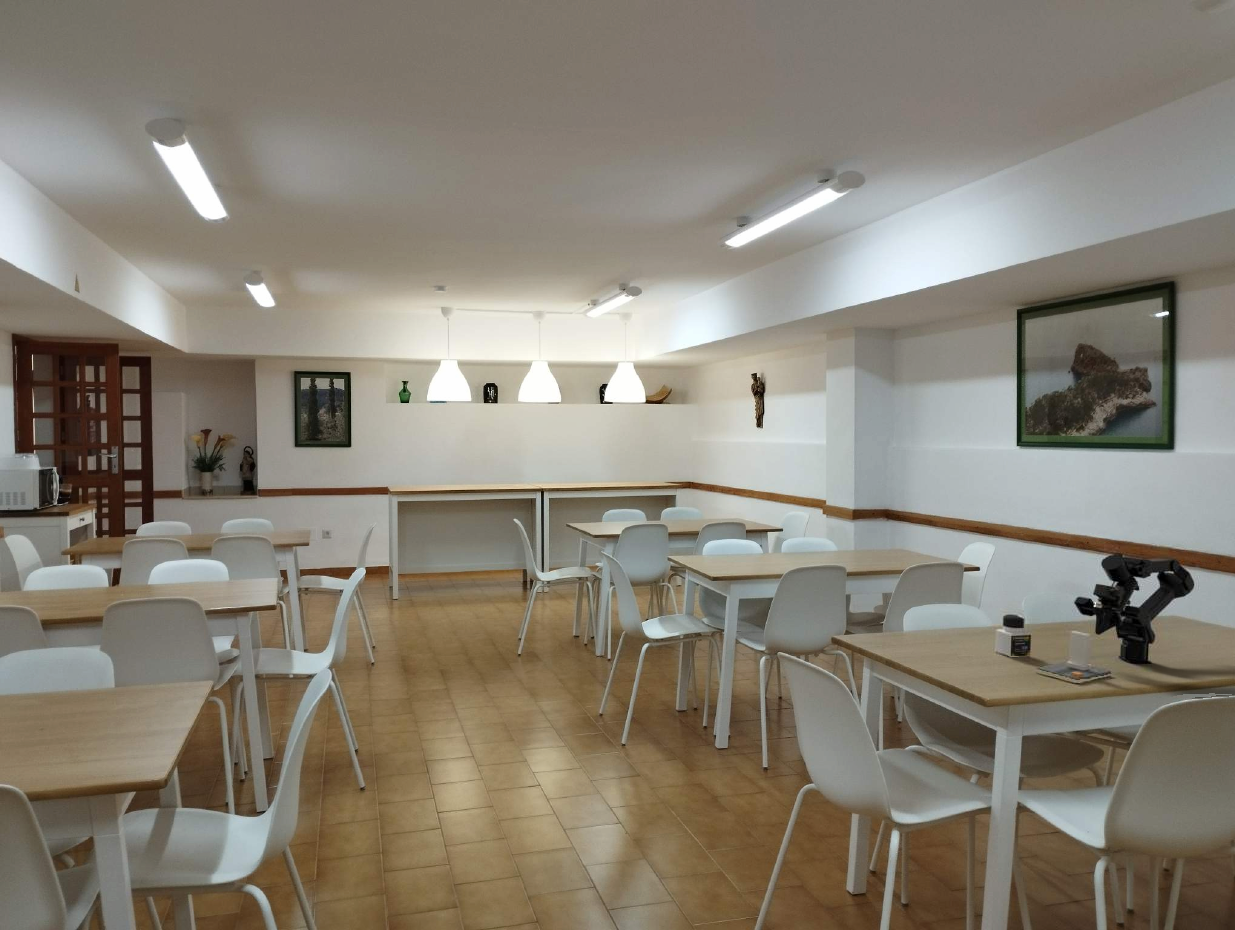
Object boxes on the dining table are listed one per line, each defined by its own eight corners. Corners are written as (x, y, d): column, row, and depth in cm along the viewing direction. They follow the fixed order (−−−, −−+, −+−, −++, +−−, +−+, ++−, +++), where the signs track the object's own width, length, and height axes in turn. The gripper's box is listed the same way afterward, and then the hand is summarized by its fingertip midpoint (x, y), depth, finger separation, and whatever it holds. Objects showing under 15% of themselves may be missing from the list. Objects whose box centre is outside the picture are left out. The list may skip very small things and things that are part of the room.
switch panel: (1069, 665, 259) (1070, 658, 259) (1110, 676, 249) (1111, 668, 249) (1036, 673, 251) (1036, 665, 250) (1077, 684, 240) (1077, 675, 240)
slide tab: (1074, 664, 254) (1075, 630, 254) (1091, 668, 250) (1093, 634, 249) (1065, 666, 252) (1067, 632, 252) (1083, 670, 248) (1085, 635, 247)
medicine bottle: (1010, 658, 267) (1012, 618, 266) (994, 652, 273) (996, 613, 273) (1030, 657, 268) (1032, 617, 268) (1014, 651, 275) (1015, 612, 275)
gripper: (1079, 569, 265) (1055, 609, 259) (1143, 579, 249) (1119, 622, 243) (1093, 593, 269) (1070, 633, 264) (1157, 604, 253) (1133, 647, 248)
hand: (1097, 633), depth 255 cm, fingers closed
